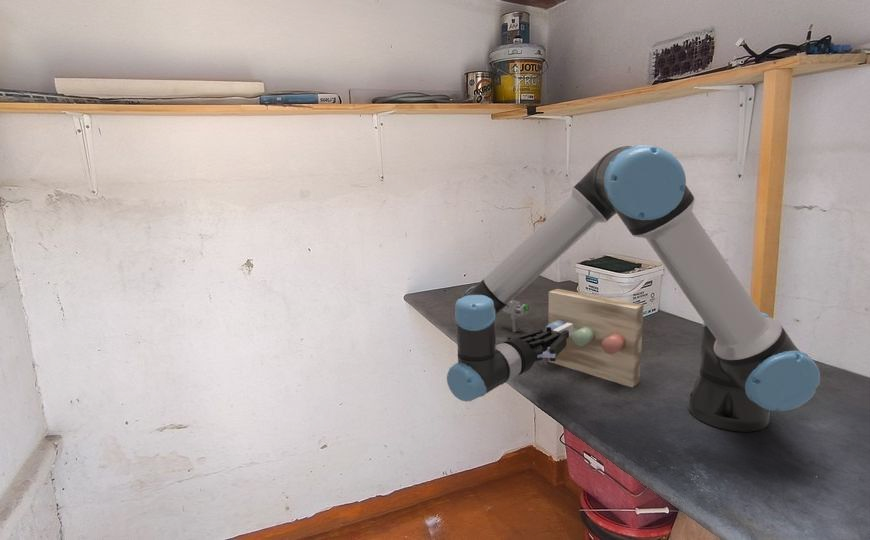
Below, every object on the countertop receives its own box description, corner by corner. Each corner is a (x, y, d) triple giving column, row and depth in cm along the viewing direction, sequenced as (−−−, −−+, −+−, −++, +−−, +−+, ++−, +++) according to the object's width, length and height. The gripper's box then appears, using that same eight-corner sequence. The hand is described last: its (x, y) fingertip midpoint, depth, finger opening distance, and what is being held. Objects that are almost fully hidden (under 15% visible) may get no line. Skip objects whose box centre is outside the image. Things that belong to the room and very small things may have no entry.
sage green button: (586, 347, 124) (586, 332, 123) (572, 344, 127) (572, 329, 126) (594, 343, 127) (595, 328, 126) (580, 339, 130) (580, 324, 129)
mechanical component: (524, 336, 158) (524, 306, 156) (499, 329, 166) (499, 299, 164) (530, 333, 160) (530, 303, 158) (505, 326, 168) (505, 298, 166)
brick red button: (617, 356, 118) (617, 340, 117) (601, 352, 121) (601, 336, 120) (625, 351, 121) (625, 335, 120) (609, 347, 124) (610, 331, 123)
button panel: (632, 387, 122) (635, 308, 117) (548, 361, 139) (548, 291, 134) (639, 382, 125) (643, 304, 120) (556, 357, 142) (557, 288, 137)
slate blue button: (558, 340, 130) (558, 325, 129) (545, 336, 133) (545, 322, 132) (566, 336, 132) (567, 321, 132) (553, 332, 135) (554, 318, 134)
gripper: (486, 368, 111) (547, 337, 126) (535, 384, 102) (595, 349, 117) (484, 336, 109) (547, 308, 125) (534, 350, 100) (595, 318, 115)
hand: (570, 328), depth 121 cm, fingers closed
